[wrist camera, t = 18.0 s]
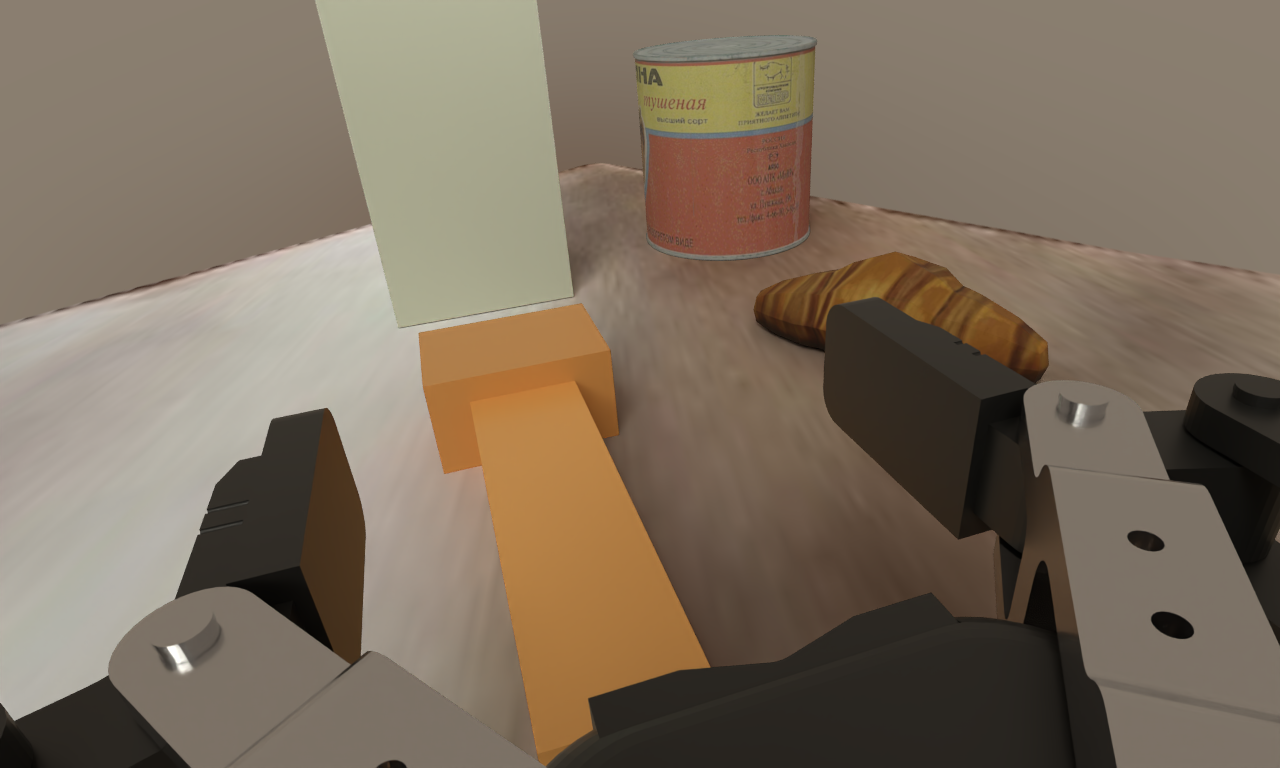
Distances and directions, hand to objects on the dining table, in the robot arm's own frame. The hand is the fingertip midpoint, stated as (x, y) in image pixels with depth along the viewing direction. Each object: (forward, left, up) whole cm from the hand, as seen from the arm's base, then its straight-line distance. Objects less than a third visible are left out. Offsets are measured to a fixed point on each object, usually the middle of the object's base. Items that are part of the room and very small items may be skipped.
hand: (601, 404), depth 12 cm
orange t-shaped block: (-5, +8, -10) cm, 14 cm away
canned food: (-3, +40, -10) cm, 42 cm away
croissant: (+6, +23, -11) cm, 26 cm away
